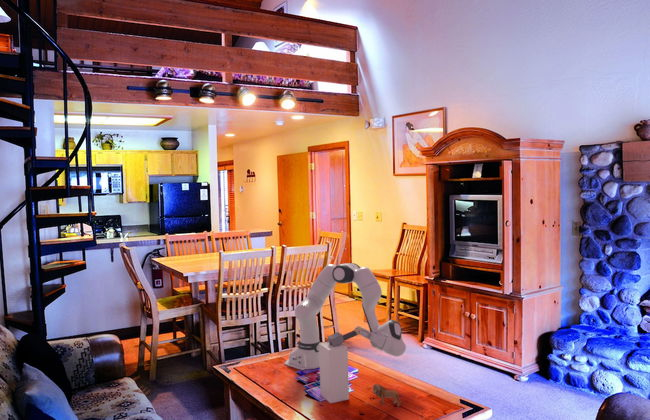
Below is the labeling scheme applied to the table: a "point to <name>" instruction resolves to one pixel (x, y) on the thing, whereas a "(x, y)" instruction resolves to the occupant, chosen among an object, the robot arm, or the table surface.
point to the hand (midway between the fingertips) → (357, 330)
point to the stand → (334, 372)
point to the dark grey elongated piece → (342, 337)
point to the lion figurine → (386, 394)
